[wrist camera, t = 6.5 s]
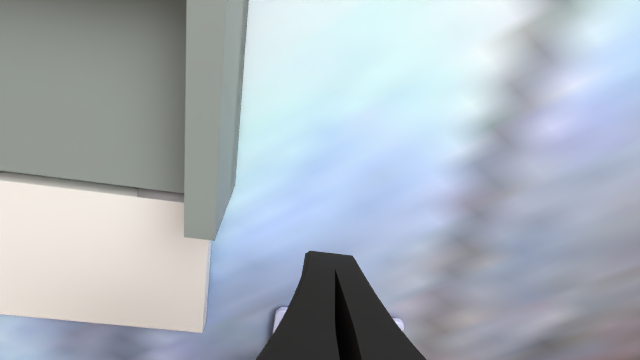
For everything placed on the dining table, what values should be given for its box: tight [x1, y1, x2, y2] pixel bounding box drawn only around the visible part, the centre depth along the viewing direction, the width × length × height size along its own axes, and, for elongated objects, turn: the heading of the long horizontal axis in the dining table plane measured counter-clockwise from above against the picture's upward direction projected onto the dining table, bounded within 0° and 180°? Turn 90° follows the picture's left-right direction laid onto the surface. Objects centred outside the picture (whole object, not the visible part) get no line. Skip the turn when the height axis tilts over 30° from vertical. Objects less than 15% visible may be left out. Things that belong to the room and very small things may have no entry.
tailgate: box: [0, 171, 211, 333], centre depth 21 cm, size 8×14×1 cm, turn 81°
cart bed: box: [0, 0, 248, 241], centre depth 15 cm, size 11×16×5 cm
